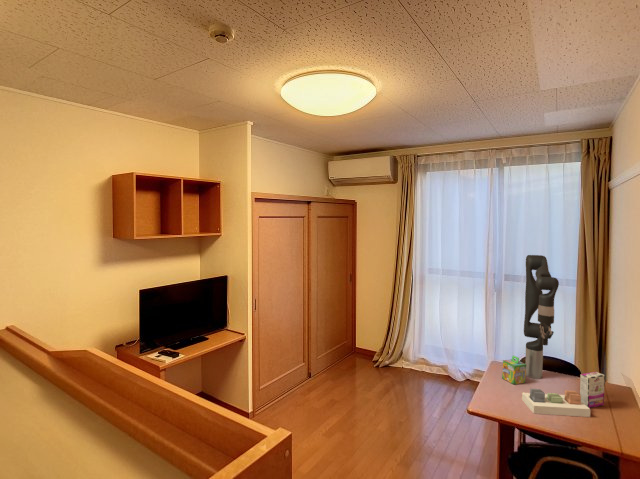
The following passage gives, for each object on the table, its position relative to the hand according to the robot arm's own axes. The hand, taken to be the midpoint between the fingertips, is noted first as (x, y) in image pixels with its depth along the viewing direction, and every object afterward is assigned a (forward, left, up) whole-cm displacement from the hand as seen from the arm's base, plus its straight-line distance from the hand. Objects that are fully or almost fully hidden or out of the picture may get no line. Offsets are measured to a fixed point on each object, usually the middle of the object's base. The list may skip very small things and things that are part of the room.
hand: (544, 344), depth 197 cm
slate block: (+12, -8, -26) cm, 30 cm away
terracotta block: (+12, +9, -26) cm, 30 cm away
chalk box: (-19, -8, -29) cm, 36 cm away
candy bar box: (+6, +21, -29) cm, 36 cm away
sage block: (+12, 0, -28) cm, 31 cm away
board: (+12, 0, -29) cm, 31 cm away
